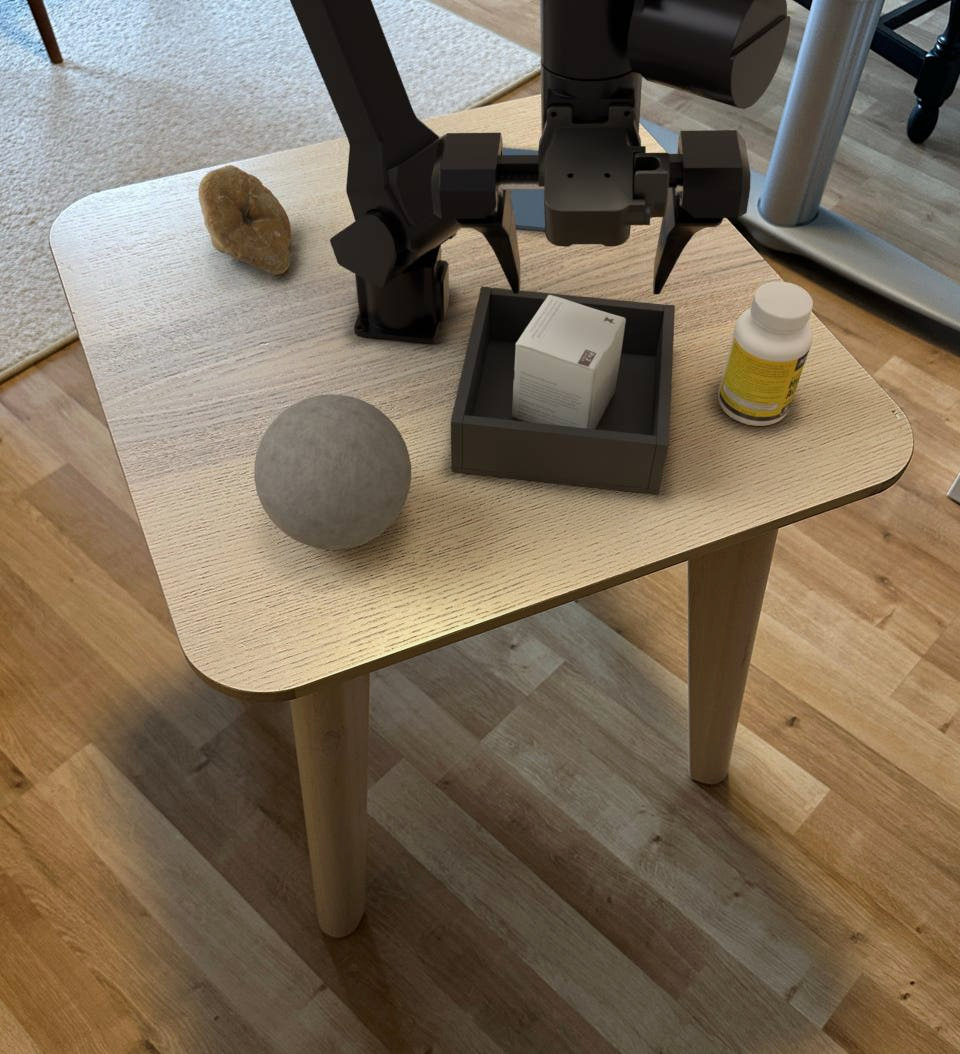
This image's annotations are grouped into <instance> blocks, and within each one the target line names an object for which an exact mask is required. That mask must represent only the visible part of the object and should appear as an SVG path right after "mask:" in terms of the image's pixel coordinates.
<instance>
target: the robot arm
mask: <svg viewBox="0 0 960 1054" xmlns="http://www.w3.org/2000/svg"><path fill="white" fill-rule="evenodd" d="M289 1H290V3H291V7H292V9H293V12H294V14H295V16H296V18H297V21H298V24H299V26H300V28H301V31H302V33H303V36H304V38H305V40H306V42H307V45H308V47H309V50H310V52H311V54H312V57H313V60H314V62H315V64H316V66H317V69H318V72H319V73H320V76H321V78H322V81H323V83H324V86H325V88H326V91H327V93H328V95H329V97H330V100H331V102H332V105H333V107H334V110H335V112H336V114H337V116H338V119H339V122H340V124H341V127H342V128H343V131H344V133H345V135H346V139H347V141H348V145H349V151H348V161H347V163H348V164H347V174H346V186H345V189H346V190H345V191H346V195H347V198H348V202H349V204H350V208H351V212H352V215H353V218H354V221H353V222H352V223H350V224H348V225H347V226H346V227H345V228H343V229H342V230H341V231H339V232H338V233H336V234H334V235H333V236H332V237H331V238H329V243H330V246H331V248H332V252H333V254H334V257H335V259H336V263H337V264H338V265H339V266H340V267H342V268H344V269H346V270H347V271H349V272H351V273H353V274H354V276H355V277H354V278H355V288H356V298H357V308H358V313H357V317H356V320H355V323H354V325H353V331H354V334H355V335H356V336H359V337H368V338H378V339H388V340H396V341H397V340H398V341H406V342H417V343H427V344H431V343H434V342H435V341H436V338H437V335H438V330H439V327H440V324H442V323H443V322H445V320H446V317H447V312H448V309H449V304H450V271H449V269H450V268H449V267H450V266H449V265H450V264H449V262H448V261H447V260H444V259H443V260H442V245H443V244H445V243H446V242H447V241H449V240H452V239H453V238H455V237H456V236H457V233H458V232H459V231H460V230H461V229H472V230H475V231H477V232H479V233H480V234H482V236H483V237H484V238H485V240H486V241H487V243H488V245H489V246H490V248H491V249H492V251H493V253H494V255H495V257H496V259H497V261H498V263H499V265H500V267H501V270H502V272H503V274H504V276H505V278H506V281H507V283H508V285H509V287H510V289H512V291H513V293H514V294H519V293H520V290H521V258H520V257H521V256H520V250H519V242H518V235H517V228H516V226H515V219H514V211H513V204H512V196H511V190H539V189H544V213H545V231H544V234H545V238H546V239H547V241H548V242H549V243H550V244H551V245H554V246H556V247H566V248H569V247H571V246H573V245H602V246H603V247H607V248H608V247H619V246H621V245H623V244H625V243H626V242H627V241H628V240H629V239H630V236H631V230H632V229H631V228H632V226H651V219H653V218H661V224H660V229H659V235H658V240H657V244H656V245H657V246H656V252H655V256H654V262H653V263H654V264H653V280H652V292H653V293H652V294H653V295H660V294H661V292H662V291H663V289H664V287H665V285H666V283H667V281H668V279H669V277H670V275H671V274H672V271H674V270H673V269H674V268H675V266H676V264H677V262H678V260H679V258H680V257H681V255H682V253H683V251H684V249H685V248H686V246H687V245H688V243H689V242H690V241H691V239H692V238H693V236H694V235H696V234H697V233H699V232H700V231H702V230H704V229H706V228H707V229H708V228H717V227H719V226H720V225H721V224H722V223H723V221H724V219H739V218H741V217H742V216H744V215H746V214H747V213H748V207H749V200H750V195H751V194H750V192H751V180H752V179H751V178H752V177H751V176H752V174H751V168H750V162H749V156H748V149H747V145H746V140H745V138H744V137H743V136H742V135H741V133H739V131H738V130H737V129H718V130H717V129H710V130H709V129H707V130H706V129H705V130H704V129H703V130H680V131H679V134H678V140H677V141H678V142H677V152H676V153H668V152H647V147H646V145H642V139H641V136H640V120H641V105H642V103H641V102H642V86H643V79H645V80H646V82H650V83H653V84H657V85H660V86H664V87H667V88H669V89H670V88H671V89H674V90H677V91H680V92H684V93H687V94H690V95H694V96H697V97H701V98H704V99H707V100H711V101H714V102H717V103H721V104H724V105H728V106H731V107H734V108H737V109H743V110H745V109H748V108H751V107H752V106H754V105H755V104H756V103H757V102H758V101H759V100H760V98H762V96H763V95H764V94H765V93H766V91H767V90H768V88H769V86H770V85H771V83H772V82H773V79H774V77H775V75H776V73H777V71H778V68H779V66H780V64H781V61H782V58H783V55H784V52H785V49H786V45H787V42H788V38H789V32H790V27H791V16H790V15H788V2H787V0H539V25H540V26H539V29H540V31H539V33H540V119H541V122H540V123H541V125H540V127H541V134H540V138H539V141H538V149H537V151H538V155H503V148H504V145H503V136H502V132H447V133H446V134H444V135H441V136H440V135H438V134H437V133H436V132H435V131H434V130H432V129H431V128H430V127H429V126H428V125H426V124H425V123H424V122H423V121H422V120H420V118H418V116H417V115H416V113H415V111H414V108H413V106H412V103H411V101H410V98H409V95H408V93H407V90H406V87H405V85H404V82H403V79H402V77H401V74H400V72H399V70H398V67H397V63H396V61H395V58H394V56H393V53H392V51H391V48H390V45H389V42H388V40H387V38H386V35H385V32H384V29H383V27H382V25H381V22H380V19H379V16H378V14H377V12H376V8H375V6H374V3H373V1H372V0H289Z"/></svg>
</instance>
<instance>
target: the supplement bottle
mask: <svg viewBox="0 0 960 1054" xmlns="http://www.w3.org/2000/svg"><path fill="white" fill-rule="evenodd" d="M813 307H814V301H813V298H812V296H811V294H809V292H808V291H807V290H805V289H804V288H803V287H801V286H800V285H797V284H796V283H795V284H794V283H791V282H787V281H770V282H767V283H766V282H765V283H764V284H761V285H760V286H759V287H758V288H757V289H756V290H755V292H754V295H753V297H752V300H751V304H750V308H748V309H746V310H745V311H744V312H742V313H741V314H740V316H738V318H737V321H736V323H735V326H734V330H733V332H732V333H733V334H732V338H731V341H730V345H729V349H728V352H727V356H726V361H725V364H724V367H723V372H722V375H721V378H720V383H719V387H718V391H717V401H718V404H719V405H720V408H721V409H722V411H723V412H724V413H725V414H726V415H727V416H728V417H730V418H731V419H733V420H735V421H736V422H739V423H741V424H744V425H749V426H757V427H763V426H771V425H774V424H776V423H779V422H781V420H783V419H784V418H785V417H786V416H787V414H788V413H789V411H790V408H791V406H792V403H793V400H794V397H795V393H796V392H797V391H796V390H797V388H798V384H799V382H800V378H801V376H802V373H803V369H804V367H805V363H806V361H807V358H808V356H809V353H810V350H811V347H812V343H813V342H812V341H813V330H812V327H811V325H810V323H809V321H810V318H811V313H812V311H813Z"/></svg>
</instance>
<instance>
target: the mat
mask: <svg viewBox="0 0 960 1054" xmlns="http://www.w3.org/2000/svg"><path fill="white" fill-rule="evenodd" d="M503 155H538V150H533V149H524V148H523V149H522V148H510V147H508V148H507V147H503ZM511 196H512V204H513V211H514V219H515V226H516V230H527V231H540V232H545V213H544V189H539V190H511Z"/></svg>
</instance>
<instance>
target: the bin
mask: <svg viewBox="0 0 960 1054" xmlns="http://www.w3.org/2000/svg"><path fill="white" fill-rule="evenodd" d="M548 295H552V296H556V297H560V298H563V299H566V300H569V301H572V302H575V303H578V304H581V305H584V306H587V307H590V308H594V309H597V310H600V311H603V312H607V313H610V314H613V315H617V316H621V317H624V318H625V319H626V322H625V328H624V336H623V343H622V350H621V357H620V364H619V370H618V377H617V383H616V390H615V393H614V395H613V397H612V399H611V401H610V402H609V404H608V406H607V408H606V410H605V412H604V414H603V415H602V417H601V419H600V421H599V423H598V425H597V426H596V428H595V429H588V428H578V427H569V426H560V425H551V424H542V423H532V422H523V421H520V420H517V419H515V418H514V417H513V416H512V404H513V386H514V368H515V350H516V342H517V341H518V340H519V338H520V336H521V335H522V333H523V332H524V330H525V329H526V327H527V326H528V324H529V323H530V322H531V320H532V319H533V317H534V316H535V314H536V313H537V311H538V310H539V308H540V307H541V305H542V304H543V302H544V301H545V300H546V298H547V297H548ZM675 312H676V305H674V304H665V303H664V304H663V303H652V302H644V301H643V302H642V301H633V300H621V299H611V298H601V297H594V296H593V297H591V296H581V295H571V294H562V293H551V292H541V291H533V290H531V291H530V290H522V289H520V293H519V294H514V293H513V291H512V289H511V288H499V287H491V286H481V287H480V290H479V294H478V300H477V303H476V308H475V312H474V317H473V322H472V325H471V330H470V334H469V339H468V343H467V347H466V351H465V356H464V359H463V360H464V361H463V365H462V370H461V373H460V378H459V383H458V388H457V390H456V391H457V392H456V397H455V401H454V405H453V409H452V414H451V417H450V467H451V469H450V470H451V472H454V473H460V474H470V475H479V476H486V477H487V476H488V477H495V478H505V479H515V480H524V481H533V482H540V483H541V482H542V483H550V484H559V485H566V486H568V485H569V486H575V487H576V486H577V487H586V488H594V489H602V490H610V491H611V490H612V491H621V492H629V493H638V494H647V495H657V496H658V495H659V493H660V489H661V485H662V479H663V475H664V469H665V466H666V460H667V455H668V451H669V446H670V428H671V427H670V426H671V406H672V405H671V404H672V381H673V378H672V377H673V362H674V361H673V358H674V356H673V355H674V340H675V339H674V338H675V337H674V335H675V317H676V316H675V315H676V313H675Z"/></svg>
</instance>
